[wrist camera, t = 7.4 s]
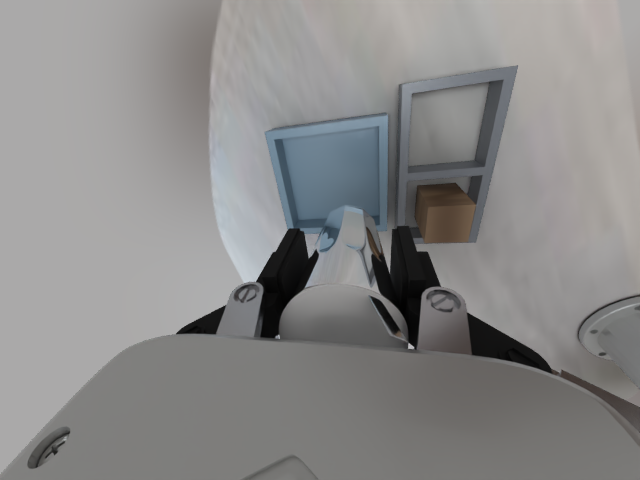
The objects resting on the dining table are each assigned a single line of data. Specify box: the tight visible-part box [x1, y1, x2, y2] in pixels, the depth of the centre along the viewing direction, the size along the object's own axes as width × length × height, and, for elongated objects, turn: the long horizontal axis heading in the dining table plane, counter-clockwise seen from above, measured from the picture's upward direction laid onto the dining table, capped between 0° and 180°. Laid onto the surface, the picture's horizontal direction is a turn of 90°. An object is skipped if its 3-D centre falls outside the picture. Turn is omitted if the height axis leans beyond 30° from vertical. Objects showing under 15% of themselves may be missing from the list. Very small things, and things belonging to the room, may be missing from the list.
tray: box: [265, 113, 388, 234], centre depth 27 cm, size 12×12×3 cm
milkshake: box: [279, 205, 409, 349], centre depth 11 cm, size 4×5×10 cm
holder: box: [395, 65, 518, 244], centre depth 25 cm, size 9×16×2 cm, turn 8°
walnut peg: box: [415, 183, 476, 243], centre depth 25 cm, size 4×4×6 cm
